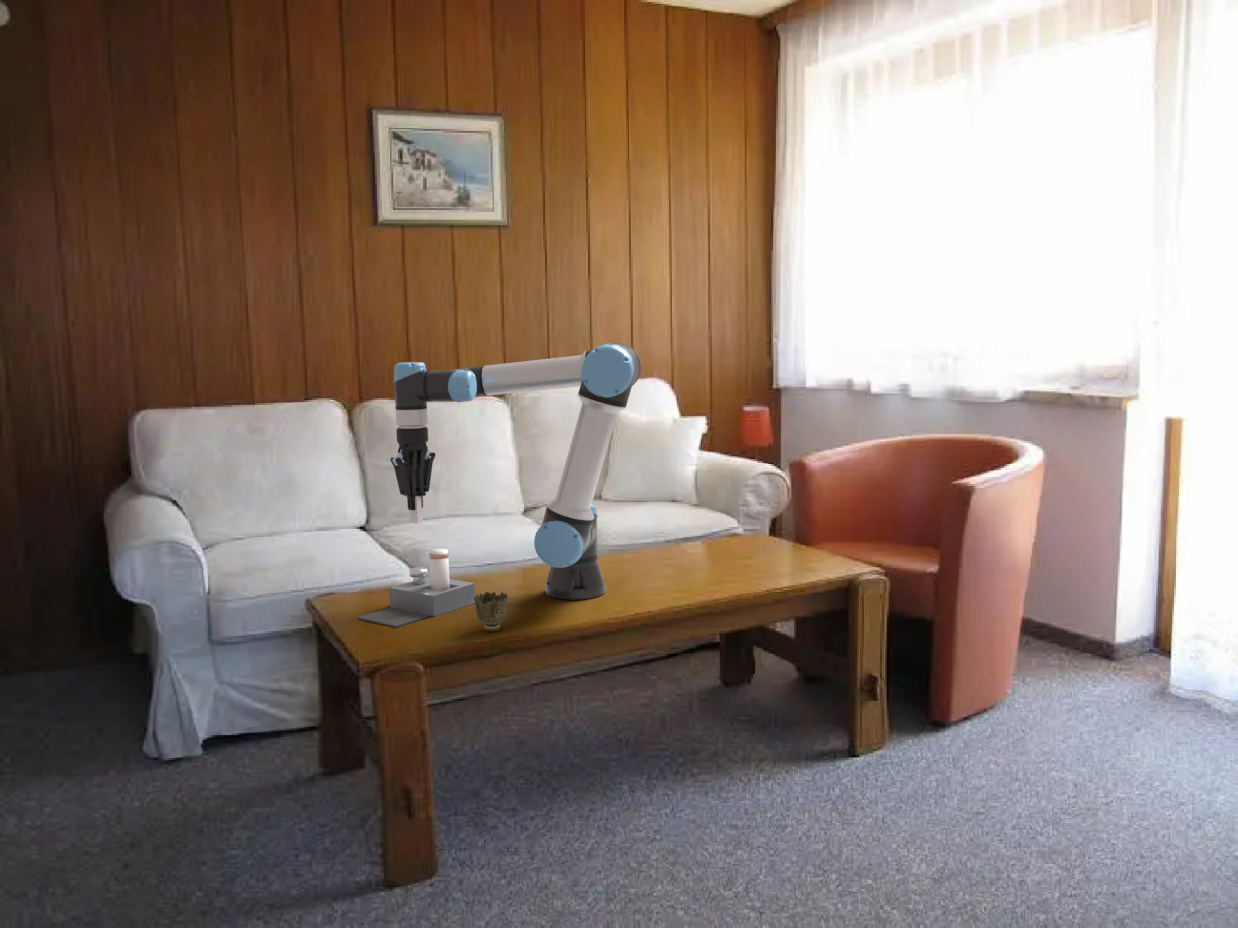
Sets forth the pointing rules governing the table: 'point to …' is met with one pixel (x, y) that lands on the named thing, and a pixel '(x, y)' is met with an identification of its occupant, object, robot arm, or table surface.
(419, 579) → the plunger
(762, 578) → the table surface
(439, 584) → the cylinder
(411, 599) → the housing
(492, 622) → the cup
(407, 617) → the mat
